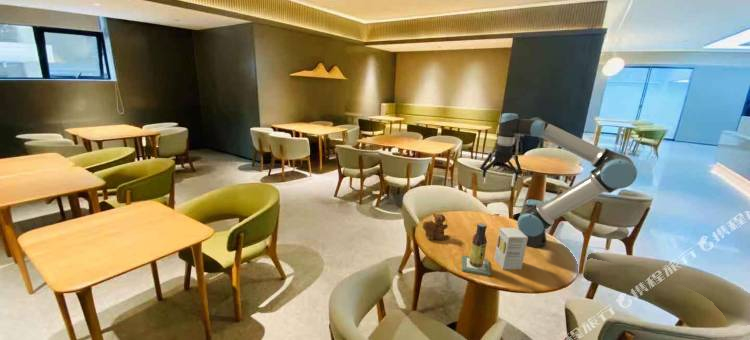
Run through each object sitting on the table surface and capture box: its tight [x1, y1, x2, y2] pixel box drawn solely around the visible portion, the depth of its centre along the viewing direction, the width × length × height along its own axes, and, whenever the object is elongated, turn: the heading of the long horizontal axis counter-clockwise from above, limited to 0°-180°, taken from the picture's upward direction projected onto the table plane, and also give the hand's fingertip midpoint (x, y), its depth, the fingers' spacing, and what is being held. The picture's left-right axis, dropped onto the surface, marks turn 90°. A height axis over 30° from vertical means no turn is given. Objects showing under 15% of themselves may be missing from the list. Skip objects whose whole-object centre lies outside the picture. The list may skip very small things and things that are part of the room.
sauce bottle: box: [469, 222, 488, 267], centre depth 140 cm, size 7×6×20 cm
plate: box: [461, 254, 491, 277], centre depth 143 cm, size 12×12×1 cm
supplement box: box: [494, 227, 528, 270], centre depth 144 cm, size 10×9×17 cm
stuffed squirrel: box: [422, 213, 450, 241], centre depth 167 cm, size 10×14×13 cm
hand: (498, 184), depth 160 cm, fingers open, 13 cm apart
